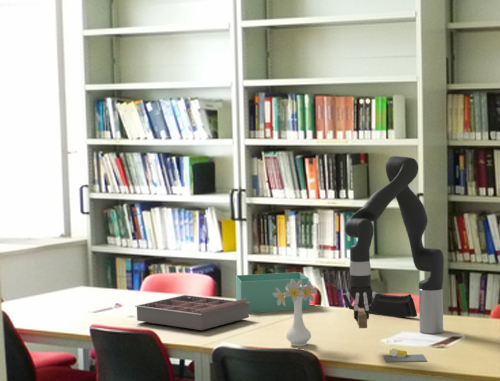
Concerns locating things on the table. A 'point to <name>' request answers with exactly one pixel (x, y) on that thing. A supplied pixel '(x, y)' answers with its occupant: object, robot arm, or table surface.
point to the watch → (397, 352)
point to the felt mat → (405, 358)
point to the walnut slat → (362, 318)
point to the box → (268, 290)
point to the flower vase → (297, 310)
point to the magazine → (392, 305)
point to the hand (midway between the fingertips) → (361, 320)
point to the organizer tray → (193, 311)
